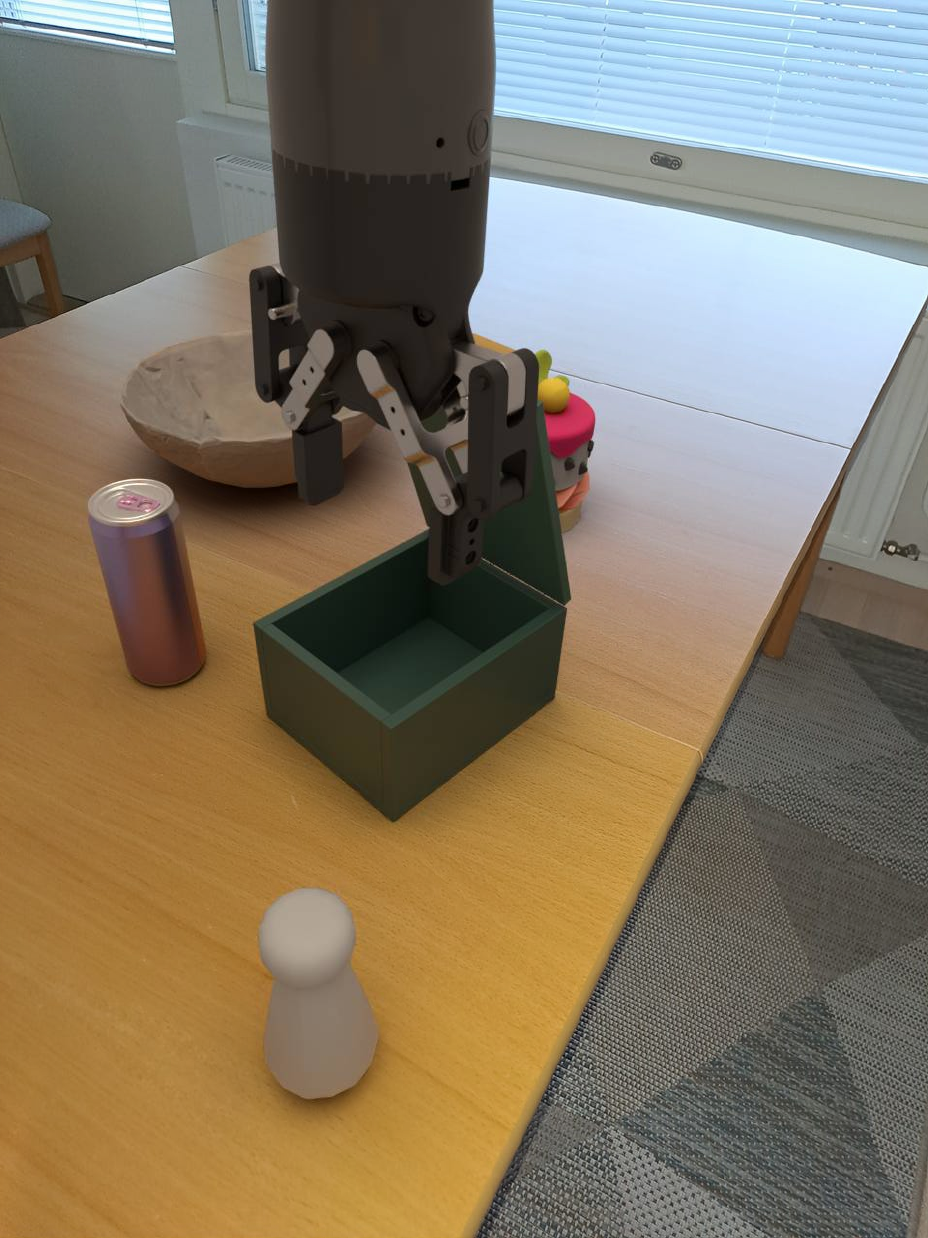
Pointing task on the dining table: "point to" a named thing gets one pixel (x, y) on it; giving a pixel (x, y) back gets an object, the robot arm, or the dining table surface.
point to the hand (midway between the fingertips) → (383, 534)
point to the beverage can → (148, 579)
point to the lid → (516, 513)
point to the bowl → (218, 412)
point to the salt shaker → (314, 995)
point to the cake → (566, 440)
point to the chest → (408, 670)
